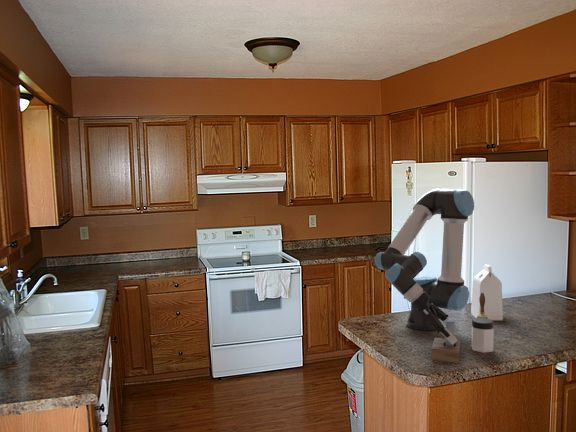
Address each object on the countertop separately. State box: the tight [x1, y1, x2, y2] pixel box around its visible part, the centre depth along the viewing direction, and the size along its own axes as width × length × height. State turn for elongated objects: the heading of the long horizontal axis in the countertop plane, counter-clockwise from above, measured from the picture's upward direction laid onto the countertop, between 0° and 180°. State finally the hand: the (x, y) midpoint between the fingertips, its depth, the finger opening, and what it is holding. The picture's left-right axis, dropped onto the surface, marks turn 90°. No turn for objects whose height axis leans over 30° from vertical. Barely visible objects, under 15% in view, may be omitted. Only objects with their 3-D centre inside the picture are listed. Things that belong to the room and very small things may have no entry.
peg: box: [445, 319, 455, 347], centre depth 205 cm, size 3×3×14 cm
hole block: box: [431, 337, 461, 364], centre depth 206 cm, size 14×10×4 cm
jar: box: [470, 317, 494, 353], centre depth 213 cm, size 9×8×12 cm
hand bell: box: [477, 293, 488, 319], centre depth 243 cm, size 8×8×16 cm
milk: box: [470, 263, 504, 321], centre depth 259 cm, size 12×12×26 cm
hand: (456, 337), depth 205 cm, fingers open, 13 cm apart
